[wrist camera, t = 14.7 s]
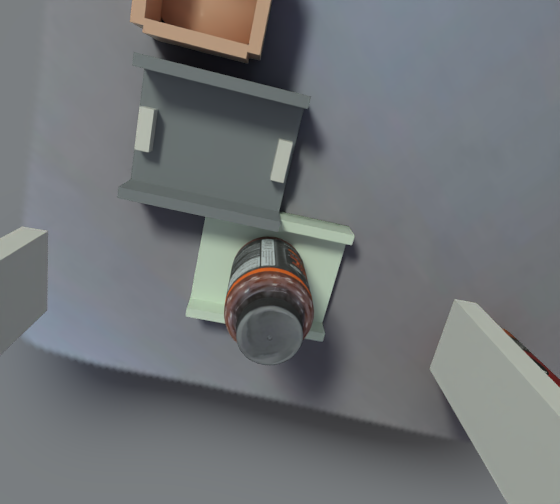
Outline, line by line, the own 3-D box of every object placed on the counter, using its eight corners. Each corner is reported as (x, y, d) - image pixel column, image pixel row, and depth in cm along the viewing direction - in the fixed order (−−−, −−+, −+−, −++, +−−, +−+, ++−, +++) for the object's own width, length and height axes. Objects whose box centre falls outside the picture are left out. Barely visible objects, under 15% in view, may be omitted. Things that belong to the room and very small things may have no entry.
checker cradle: (305, 96, 32) (310, 96, 29) (276, 218, 36) (278, 232, 32) (149, 57, 31) (133, 52, 27) (133, 186, 34) (117, 197, 30)
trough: (348, 226, 36) (354, 235, 34) (318, 326, 39) (322, 341, 37) (209, 196, 35) (206, 203, 32) (190, 302, 38) (185, 316, 35)
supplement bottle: (315, 281, 37) (337, 357, 26) (253, 311, 37) (249, 396, 27) (283, 221, 35) (293, 275, 24) (218, 253, 36) (200, 320, 25)
